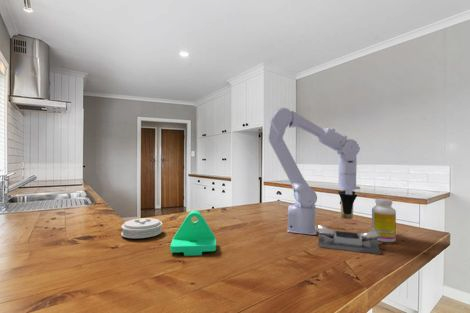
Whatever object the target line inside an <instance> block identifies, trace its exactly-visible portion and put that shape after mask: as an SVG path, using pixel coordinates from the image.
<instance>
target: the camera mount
mask: <svg viewBox="0 0 470 313" xmlns="http://www.w3.org/2000/svg"><path fill="white" fill-rule="evenodd" d="M192 218H196V219H197V221H194V220H192ZM216 239H217V238H216V235H215V233H214V232H213V230H212V229H211V228H210V225H209V224H208V222H207V220H206V219H205V217H204V216H203V215H202V213H201V212H200V211H198V210H191V211H190V212H189V213H188V214H187V216H186V217H185V218H184V221H182V224H181V225H180V227H179V229H178V230H177V232H176V233H175V234H174V236H173V238H172V241H171V242H170V245H169V246H170V247H169V248H170V250H169V251H170V253H183V256H186V257H187V256H203V252H215V251H216V250H217V241H216Z"/></svg>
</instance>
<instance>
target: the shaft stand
mask: <svg viewBox="0 0 470 313" xmlns="http://www.w3.org/2000/svg"><path fill="white" fill-rule="evenodd" d="M316 228H317V231H316V233H318V242H317V243H318V248H324V249H332V250H339V251H347V252H349V251H350V252H357V253H363V254H365V253H366V254H373V255H381V254H382V250H381V249H380V247H379V241H378V240H377V239H379V238H380V235H379V233H378V231H377V230H373V231H372V230H369V231H365V232H353V231H343V230H333V229H331V228H328V227H327V226H325V225H322V224H318V225H317V227H316Z"/></svg>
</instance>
